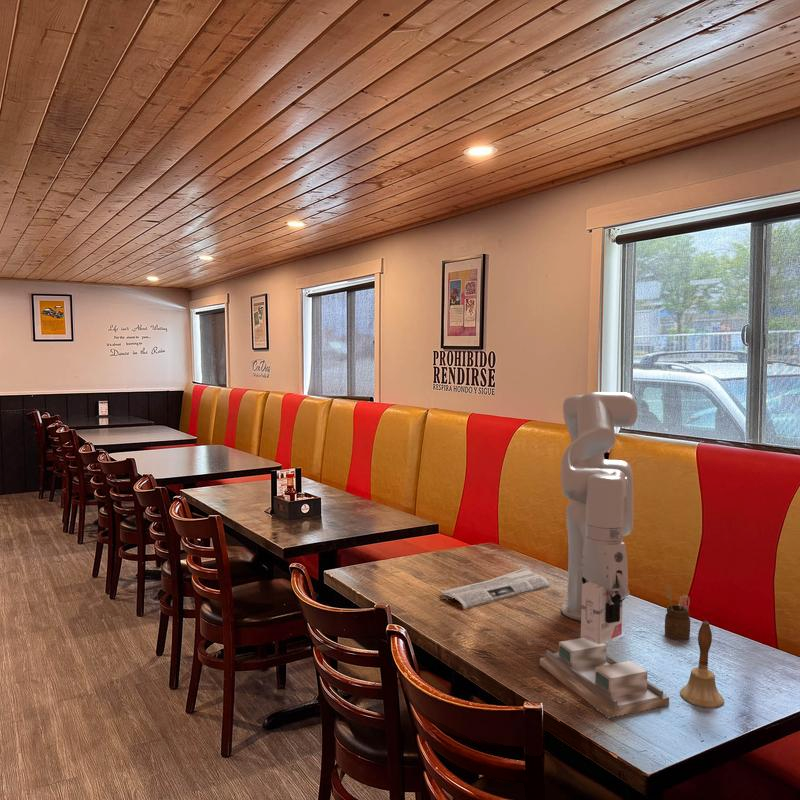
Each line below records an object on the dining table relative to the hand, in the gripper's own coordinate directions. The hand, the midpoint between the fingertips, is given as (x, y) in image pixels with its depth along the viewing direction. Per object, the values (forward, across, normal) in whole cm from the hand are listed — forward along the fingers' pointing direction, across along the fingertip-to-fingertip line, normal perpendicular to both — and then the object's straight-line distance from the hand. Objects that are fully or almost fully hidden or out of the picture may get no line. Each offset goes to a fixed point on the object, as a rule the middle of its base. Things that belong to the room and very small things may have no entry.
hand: (602, 615), depth 140 cm
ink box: (+5, 0, 0) cm, 5 cm away
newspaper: (+15, +58, -7) cm, 60 cm away
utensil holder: (+15, +14, -34) cm, 40 cm away
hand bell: (+15, -12, -16) cm, 25 cm away
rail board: (+15, 0, 0) cm, 15 cm away
